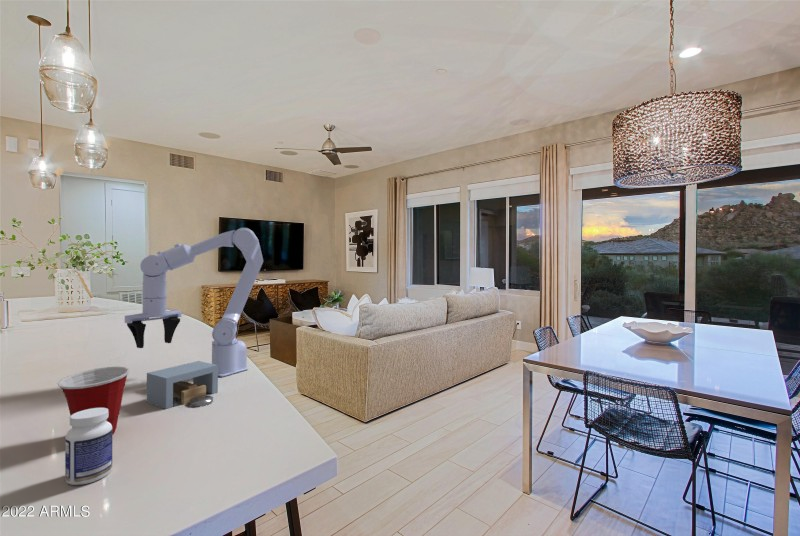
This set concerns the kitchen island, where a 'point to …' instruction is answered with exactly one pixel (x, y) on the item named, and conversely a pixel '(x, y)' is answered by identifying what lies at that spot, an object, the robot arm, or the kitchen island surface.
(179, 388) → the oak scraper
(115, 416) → the plastic cup
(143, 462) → the kitchen island surface
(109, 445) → the pill bottle
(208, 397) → the steel token
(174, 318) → the robot arm
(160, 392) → the low shelf
